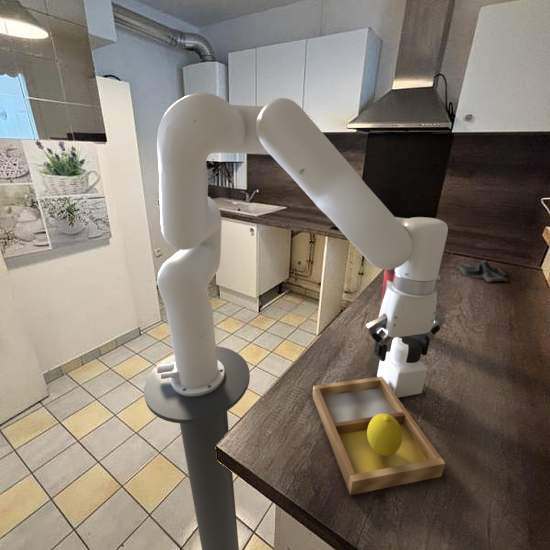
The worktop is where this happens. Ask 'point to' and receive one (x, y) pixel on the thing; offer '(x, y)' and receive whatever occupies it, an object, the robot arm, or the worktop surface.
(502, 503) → the worktop surface
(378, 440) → the lemon
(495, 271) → the cloth
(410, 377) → the medicine bottle
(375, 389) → the tray
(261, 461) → the worktop surface
